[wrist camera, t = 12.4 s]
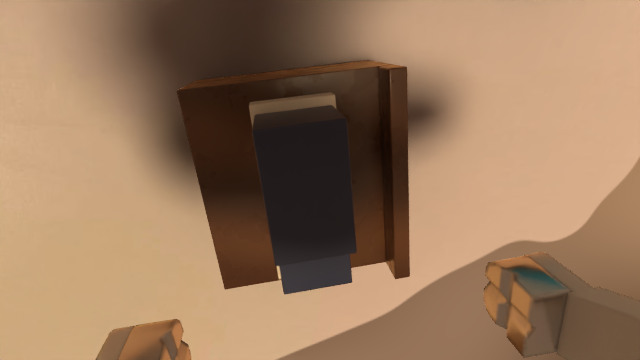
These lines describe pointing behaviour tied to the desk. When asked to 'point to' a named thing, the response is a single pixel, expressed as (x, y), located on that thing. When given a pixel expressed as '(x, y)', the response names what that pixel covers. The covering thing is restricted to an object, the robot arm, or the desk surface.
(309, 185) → the navy stepped block
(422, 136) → the desk surface
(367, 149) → the shelf
